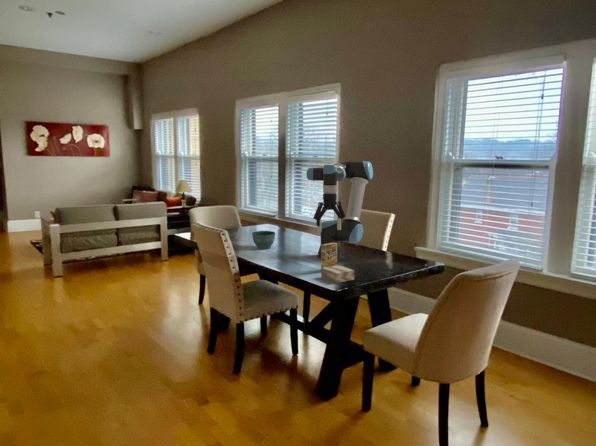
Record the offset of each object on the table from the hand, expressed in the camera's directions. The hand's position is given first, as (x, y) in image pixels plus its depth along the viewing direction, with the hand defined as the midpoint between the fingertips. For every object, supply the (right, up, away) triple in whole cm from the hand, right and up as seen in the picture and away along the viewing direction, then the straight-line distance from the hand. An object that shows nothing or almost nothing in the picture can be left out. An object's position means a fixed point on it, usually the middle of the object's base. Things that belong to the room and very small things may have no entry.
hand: (329, 230), depth 243 cm
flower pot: (-41, -13, +62) cm, 76 cm away
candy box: (0, -23, +4) cm, 23 cm away
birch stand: (+4, -25, -13) cm, 28 cm away
